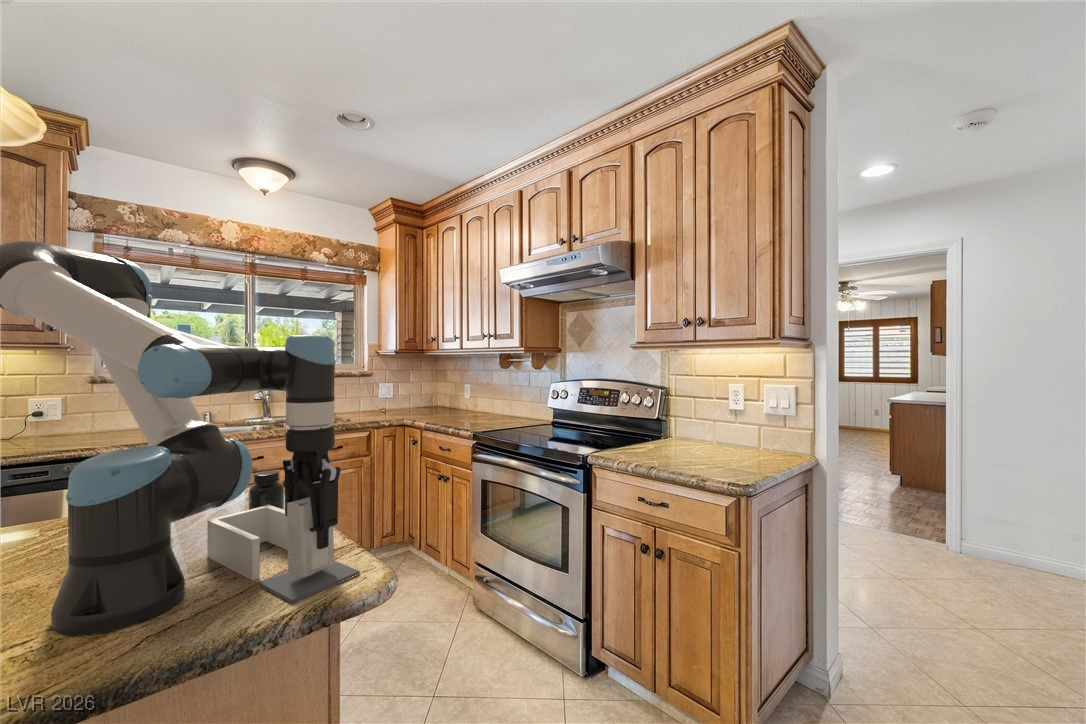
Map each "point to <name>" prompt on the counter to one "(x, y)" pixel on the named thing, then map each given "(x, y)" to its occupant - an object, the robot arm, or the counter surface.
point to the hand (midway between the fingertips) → (310, 562)
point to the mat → (307, 582)
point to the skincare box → (303, 539)
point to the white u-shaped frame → (246, 538)
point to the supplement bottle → (266, 490)
